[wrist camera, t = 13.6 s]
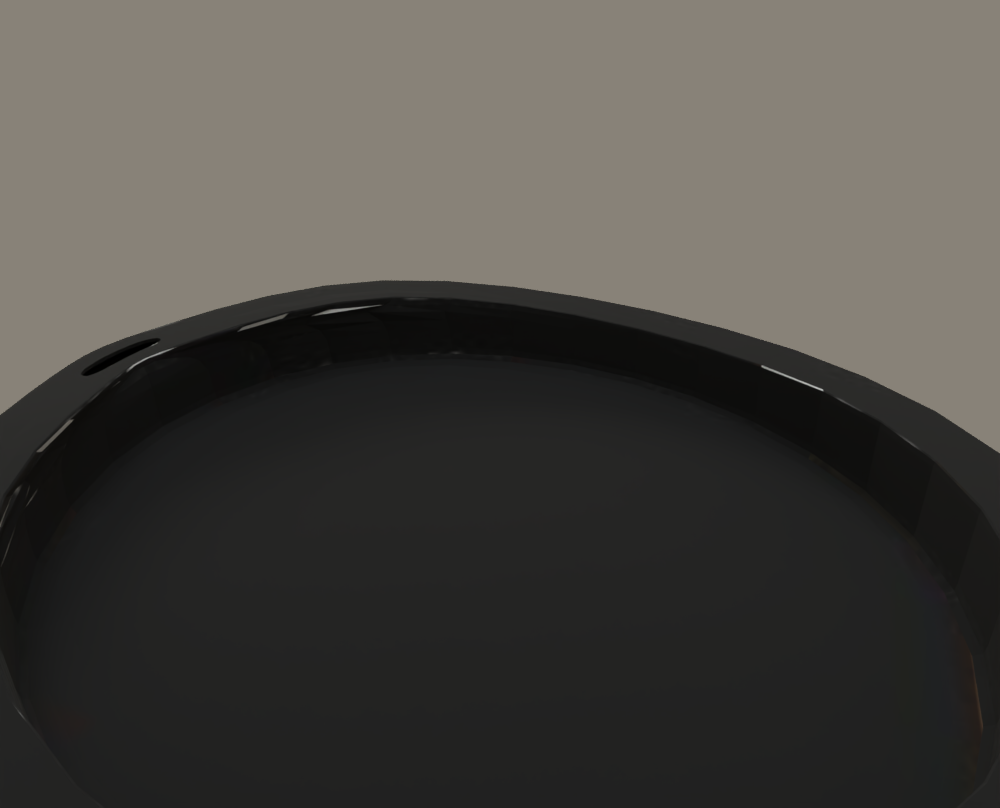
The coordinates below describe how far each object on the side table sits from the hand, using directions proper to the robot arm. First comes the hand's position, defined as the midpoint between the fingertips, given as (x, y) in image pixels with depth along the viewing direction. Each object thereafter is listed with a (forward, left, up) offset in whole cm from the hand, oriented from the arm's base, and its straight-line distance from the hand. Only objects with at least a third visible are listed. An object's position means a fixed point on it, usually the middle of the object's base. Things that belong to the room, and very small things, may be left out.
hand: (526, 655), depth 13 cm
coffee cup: (-3, +4, -8) cm, 10 cm away
